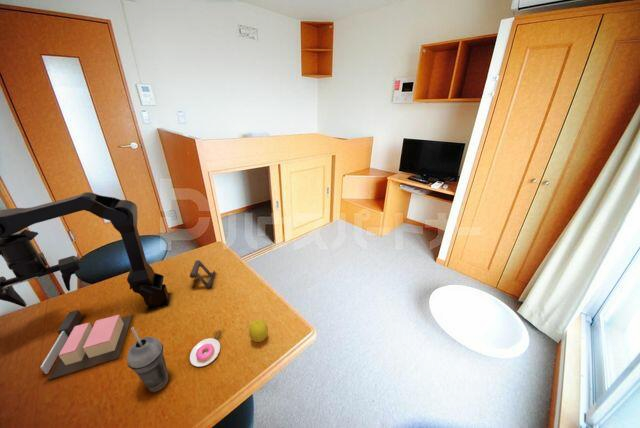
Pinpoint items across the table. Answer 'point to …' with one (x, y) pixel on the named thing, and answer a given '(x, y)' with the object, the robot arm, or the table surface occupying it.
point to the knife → (61, 338)
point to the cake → (103, 336)
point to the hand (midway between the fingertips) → (48, 297)
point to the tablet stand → (195, 274)
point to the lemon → (258, 330)
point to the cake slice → (75, 344)
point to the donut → (204, 352)
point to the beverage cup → (148, 362)
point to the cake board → (93, 361)
